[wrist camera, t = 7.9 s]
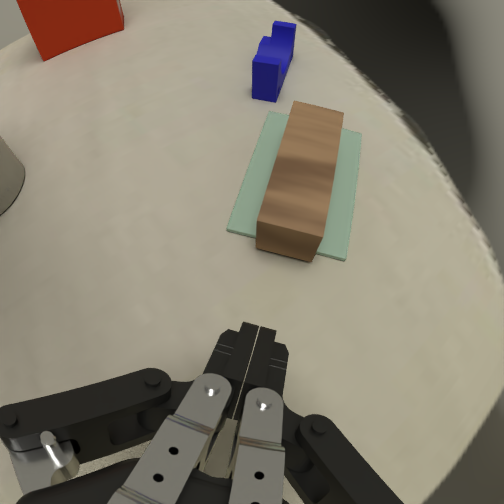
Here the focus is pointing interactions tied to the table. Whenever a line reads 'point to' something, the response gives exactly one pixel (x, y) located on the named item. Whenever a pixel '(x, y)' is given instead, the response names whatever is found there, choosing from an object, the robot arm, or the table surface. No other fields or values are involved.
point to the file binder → (69, 22)
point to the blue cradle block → (272, 61)
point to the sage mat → (341, 194)
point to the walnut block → (300, 183)
